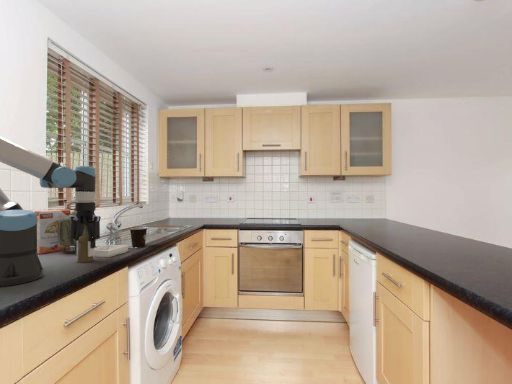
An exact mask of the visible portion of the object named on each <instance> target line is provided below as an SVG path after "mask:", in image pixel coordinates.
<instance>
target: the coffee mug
mask: <svg viewBox="0 0 512 384" xmlns="http://www.w3.org/2000/svg"><path fill="white" fill-rule="evenodd" d="M129 230H130V238H131V239H130V241H131V247H132V248H133V249H136V248H135V247H141V248H144V247H143V246H145V247H146V243H147V242H146V240H147V234H148V233H147V232H148V228H147V227H139V226H138V227H131V228H129Z"/></svg>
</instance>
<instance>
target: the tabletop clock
mask: <svg viewBox="0 0 512 384" xmlns="http://www.w3.org/2000/svg"><path fill="white" fill-rule="evenodd" d="M75 203H77V201H71V202H70V203H68V204H67V210H71V214H70V216H68V217H64V218H62V219H60V221H59V223H58V230H57V235H58V241H59V244H60V245H62V246H65V247H64V249H62V251H61V252H62V253H64V252H66V251H67V250H66V247H67V246H70V247H74V250H73V253H75V254H77V248H76V240H75V239H72V238H71V228H72V221H71V216H75V215H76V214H77V211H76V210H75V208H70V207H69V206H70V205H72V204H75ZM83 235H88V230H87V226H86V225H85V226H84V230H83ZM83 235H82V236H83Z"/></svg>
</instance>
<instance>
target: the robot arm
mask: <svg viewBox="0 0 512 384" xmlns="http://www.w3.org/2000/svg"><path fill="white" fill-rule="evenodd" d="M0 163H2V164H5V165H6V166H9V167H12V168H14V169H16V170H19V171H20V172H23V173H25V174H28V175H31V176H33V177H35V178H37V179H39V185H40V187H41V188H42V189H45V188H46V189H74V191H75V192H74V193H75V194H74V195H75V196H74V198H75V199H74V202H77V203H74V204H75V207H74V209H75V210H76V211H77V214H76V215H75V216H71V221H72V228H71V238H72V239H75V240H76V250H77V253H76V257H78V254H79V248H80V243H79V237H80V236H82V235H83V230H84V226H85V225H86V226H87V230H88V235H89V239H90V240H88V257H90V256H94V248H96V244H97V243H96V241H97V240H100V239H101V227H100V225H101V223H100V222H101V219H102V218H101V217H102V216H100V215H99V216H98V215H96V214H95V211H96V205H97V204H96V202H95V201H96V182H97V181H96V178H97V176H96V174H97V173H96V168H95V167H93V166H90V165H89V166H87V165H77V166H75V168H74V169H72V168H70V167H68V166H64V165H61V164H59V163H57V162H54V161H53V160H51V159H48V158H46V157H45V156H42V155H40V154H38V153H37V152H33V151H32V150H30V149H28V148H25V147H24V146H21V145H20V144H17V143H15V142H13V141H10V140H9V139H7V138H4V137H2V136H0ZM37 222H38V219H37V215H36V213H35V210H34V211H33V210H27V209H24V208H23V207H22V206H21V205H20V204H19V202H16V201H12V200H10V199H9V197H8V196H7V195H6V194H5V192H4V191H3V189H2V188H0V287H7V286H14V285H21V284H26V283H29V282H33V281H36V280H38V279H41V278H43V276H44V267H43V266H42V263H41V261H40V258H39V256H38V254H37Z"/></svg>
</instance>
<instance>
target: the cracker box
mask: <svg viewBox="0 0 512 384" xmlns="http://www.w3.org/2000/svg"><path fill="white" fill-rule="evenodd" d="M34 212H35V213H36V215H37V219H38V222H37V255H42V254H47V253H48V254H49V253H55V252H62V249H64V247H65V246H62V245H60V244H59V241H58V235H57V230H58V223H59V221H60V219H62V218H64V217H68V216H70V214H71V212H72V210H70V209H47V210H34ZM68 250H71V246H67V247H66V251H68Z"/></svg>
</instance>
